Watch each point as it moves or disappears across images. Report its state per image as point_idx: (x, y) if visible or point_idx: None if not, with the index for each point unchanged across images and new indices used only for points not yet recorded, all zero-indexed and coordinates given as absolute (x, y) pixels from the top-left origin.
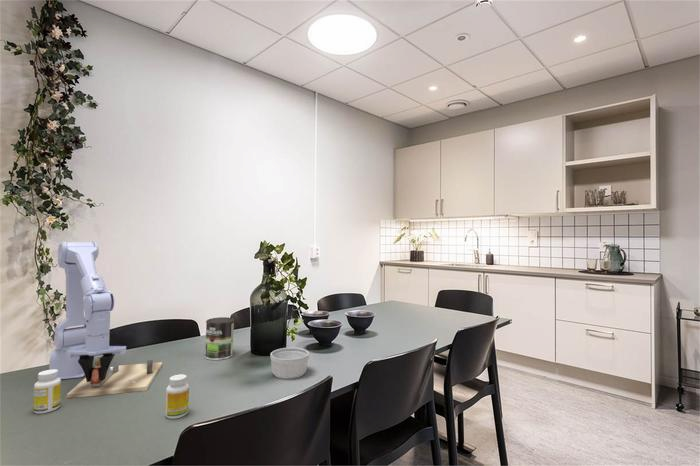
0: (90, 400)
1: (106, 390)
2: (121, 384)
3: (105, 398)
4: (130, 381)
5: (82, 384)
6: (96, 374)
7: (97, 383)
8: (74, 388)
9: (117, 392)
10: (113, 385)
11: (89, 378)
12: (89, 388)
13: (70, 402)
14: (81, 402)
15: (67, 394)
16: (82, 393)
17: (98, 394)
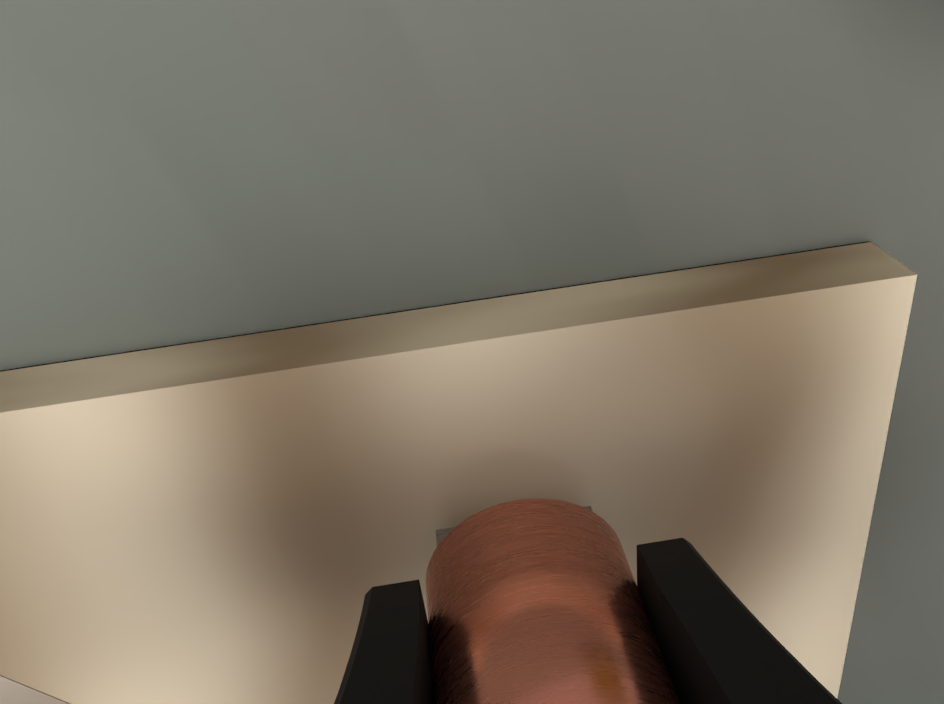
0: (399, 101)
1: (225, 376)
2: (112, 597)
3: (139, 164)
4: (35, 690)
5: (784, 618)
6: (516, 694)
7: (463, 524)
8: (857, 495)
9: (41, 372)
10: (238, 567)
11: (659, 603)
12: (607, 478)
13: (750, 54)
14: (534, 21)
15: (903, 275)
16: (648, 304)
17: (370, 323)
